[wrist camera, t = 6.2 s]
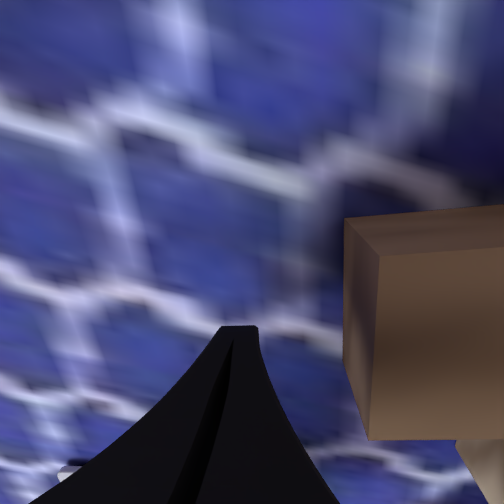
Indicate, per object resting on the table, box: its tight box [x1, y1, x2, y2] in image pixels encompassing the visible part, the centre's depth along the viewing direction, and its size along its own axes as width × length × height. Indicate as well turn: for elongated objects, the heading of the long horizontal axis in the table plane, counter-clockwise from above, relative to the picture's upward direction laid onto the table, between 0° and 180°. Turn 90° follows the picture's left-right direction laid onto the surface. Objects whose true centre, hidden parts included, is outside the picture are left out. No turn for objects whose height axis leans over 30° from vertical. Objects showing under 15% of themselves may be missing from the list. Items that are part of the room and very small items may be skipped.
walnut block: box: [343, 204, 504, 441], centre depth 10 cm, size 7×6×4 cm
